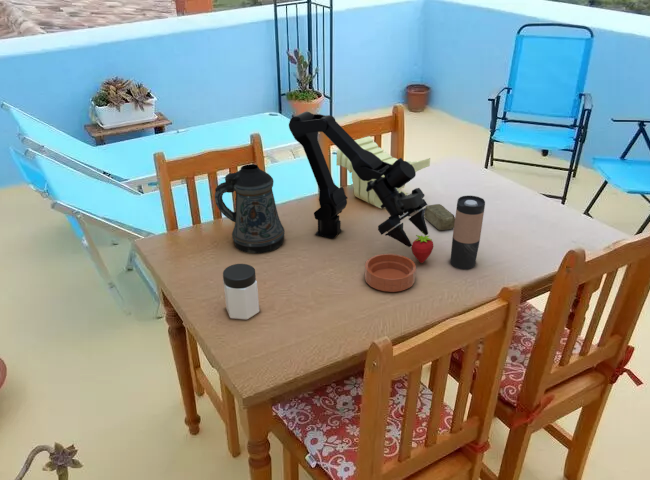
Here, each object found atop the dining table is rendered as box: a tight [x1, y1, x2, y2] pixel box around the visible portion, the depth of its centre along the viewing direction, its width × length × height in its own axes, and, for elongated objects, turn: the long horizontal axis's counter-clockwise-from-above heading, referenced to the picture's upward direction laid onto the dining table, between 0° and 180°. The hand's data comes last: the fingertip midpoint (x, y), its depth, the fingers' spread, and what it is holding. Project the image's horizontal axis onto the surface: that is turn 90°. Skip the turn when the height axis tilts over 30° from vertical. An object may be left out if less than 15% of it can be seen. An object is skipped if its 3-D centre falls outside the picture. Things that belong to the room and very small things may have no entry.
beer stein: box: [214, 163, 286, 254], centre depth 178 cm, size 16×19×25 cm
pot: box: [364, 252, 417, 293], centre depth 164 cm, size 14×14×5 cm
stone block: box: [424, 203, 455, 231], centre depth 193 cm, size 6×12×5 cm, turn 19°
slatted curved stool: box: [336, 135, 431, 209], centre depth 207 cm, size 30×16×18 cm, turn 38°
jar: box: [222, 263, 260, 320], centre depth 150 cm, size 9×8×12 cm
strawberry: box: [410, 233, 434, 264], centre depth 170 cm, size 6×8×10 cm
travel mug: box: [450, 195, 486, 270], centre depth 167 cm, size 8×8×20 cm
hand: (419, 240), depth 170 cm, fingers open, 9 cm apart
